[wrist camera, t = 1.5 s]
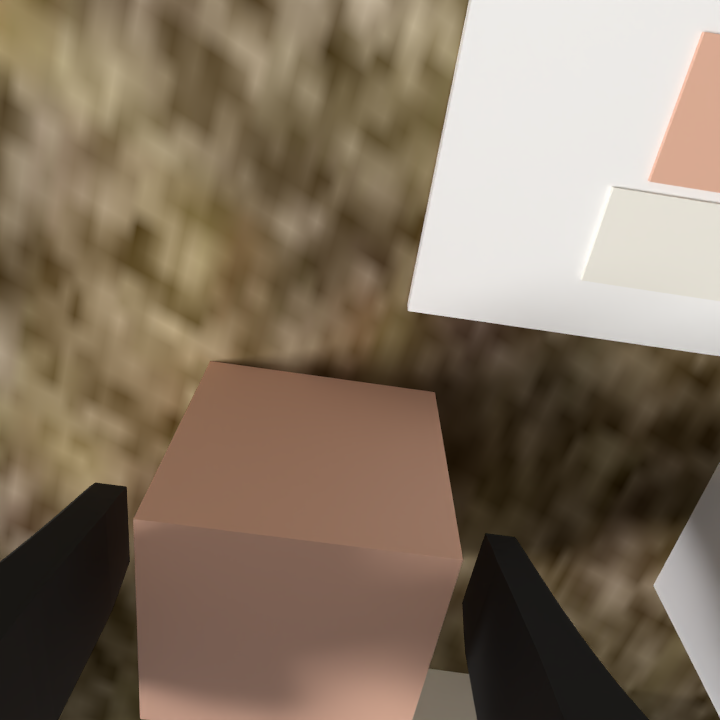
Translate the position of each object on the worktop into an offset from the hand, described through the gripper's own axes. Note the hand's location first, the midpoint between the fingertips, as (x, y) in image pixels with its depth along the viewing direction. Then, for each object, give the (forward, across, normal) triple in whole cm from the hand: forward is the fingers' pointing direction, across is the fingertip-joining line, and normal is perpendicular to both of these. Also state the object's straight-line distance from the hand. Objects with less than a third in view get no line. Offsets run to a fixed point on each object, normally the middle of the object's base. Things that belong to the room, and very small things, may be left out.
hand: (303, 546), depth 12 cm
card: (+3, -6, -8) cm, 11 cm away
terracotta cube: (+3, 0, 0) cm, 3 cm away
